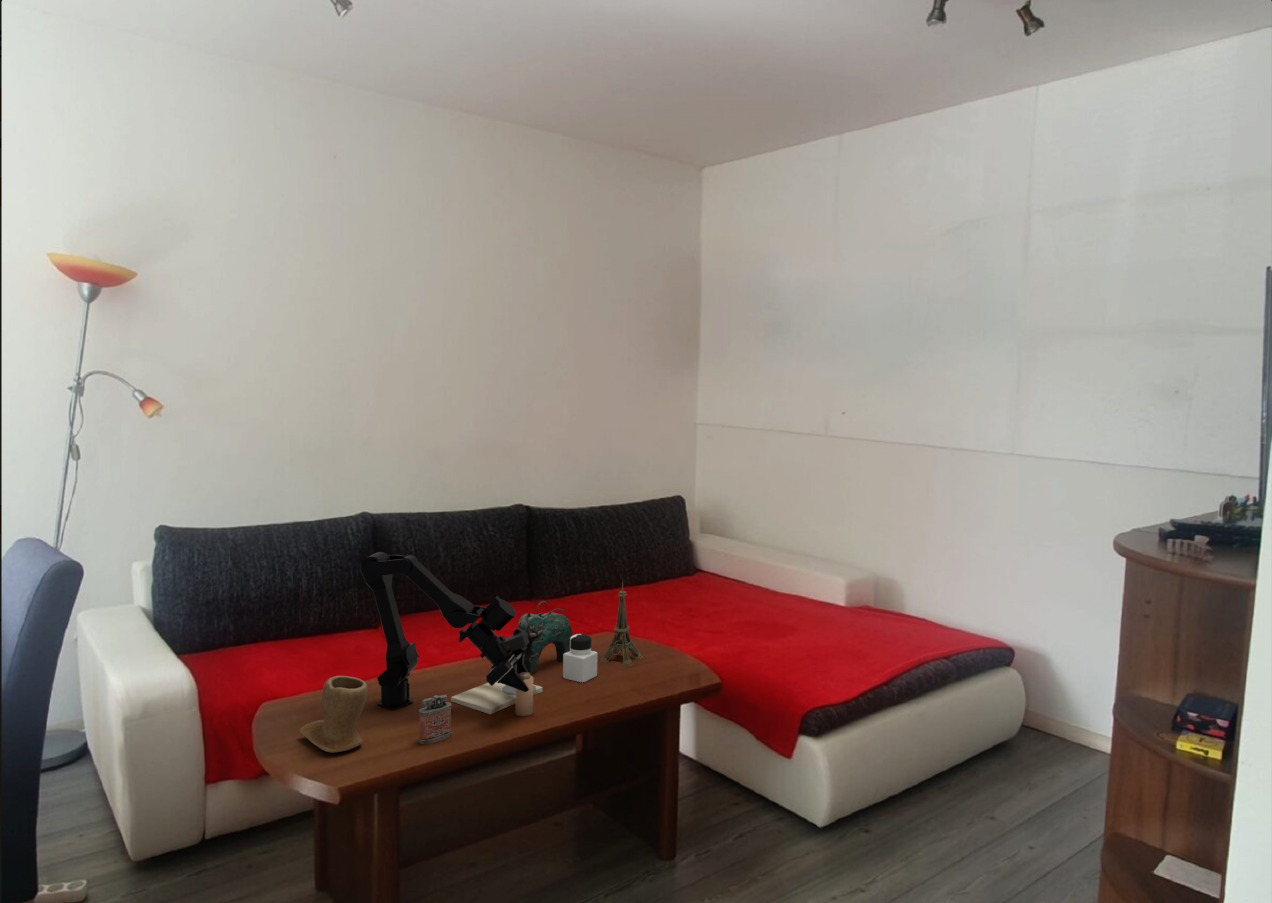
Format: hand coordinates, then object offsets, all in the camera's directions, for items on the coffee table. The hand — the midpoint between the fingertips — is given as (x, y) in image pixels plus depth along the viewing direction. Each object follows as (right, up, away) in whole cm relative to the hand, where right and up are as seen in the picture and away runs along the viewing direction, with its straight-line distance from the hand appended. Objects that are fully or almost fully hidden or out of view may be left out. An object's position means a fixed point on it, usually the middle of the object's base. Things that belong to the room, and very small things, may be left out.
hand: (529, 687), depth 213 cm
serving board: (-10, -6, +11) cm, 16 cm away
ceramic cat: (0, -4, +36) cm, 36 cm away
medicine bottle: (+11, -5, +27) cm, 30 cm away
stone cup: (-42, -8, -19) cm, 46 cm away
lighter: (-20, -8, -16) cm, 27 cm away
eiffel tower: (+22, -4, +44) cm, 49 cm away
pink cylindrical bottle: (-1, -7, +1) cm, 7 cm away
